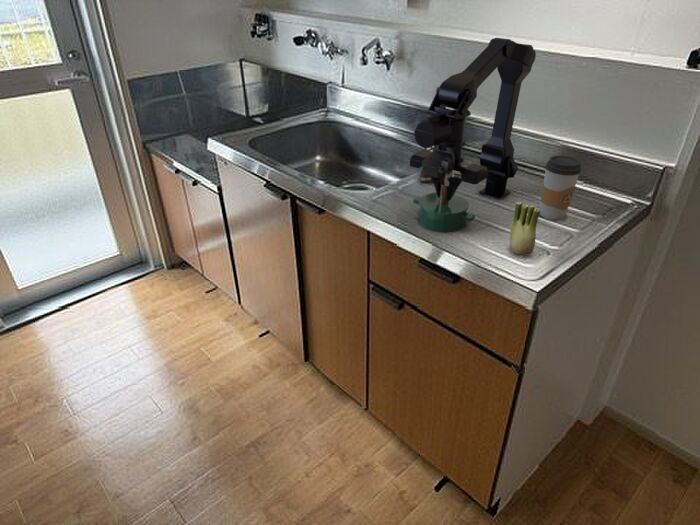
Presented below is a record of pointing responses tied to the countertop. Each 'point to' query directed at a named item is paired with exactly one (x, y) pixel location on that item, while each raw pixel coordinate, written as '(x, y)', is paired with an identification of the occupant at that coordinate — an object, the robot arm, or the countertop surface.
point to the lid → (443, 202)
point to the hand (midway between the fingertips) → (444, 198)
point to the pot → (443, 220)
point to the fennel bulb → (523, 229)
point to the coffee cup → (559, 186)
